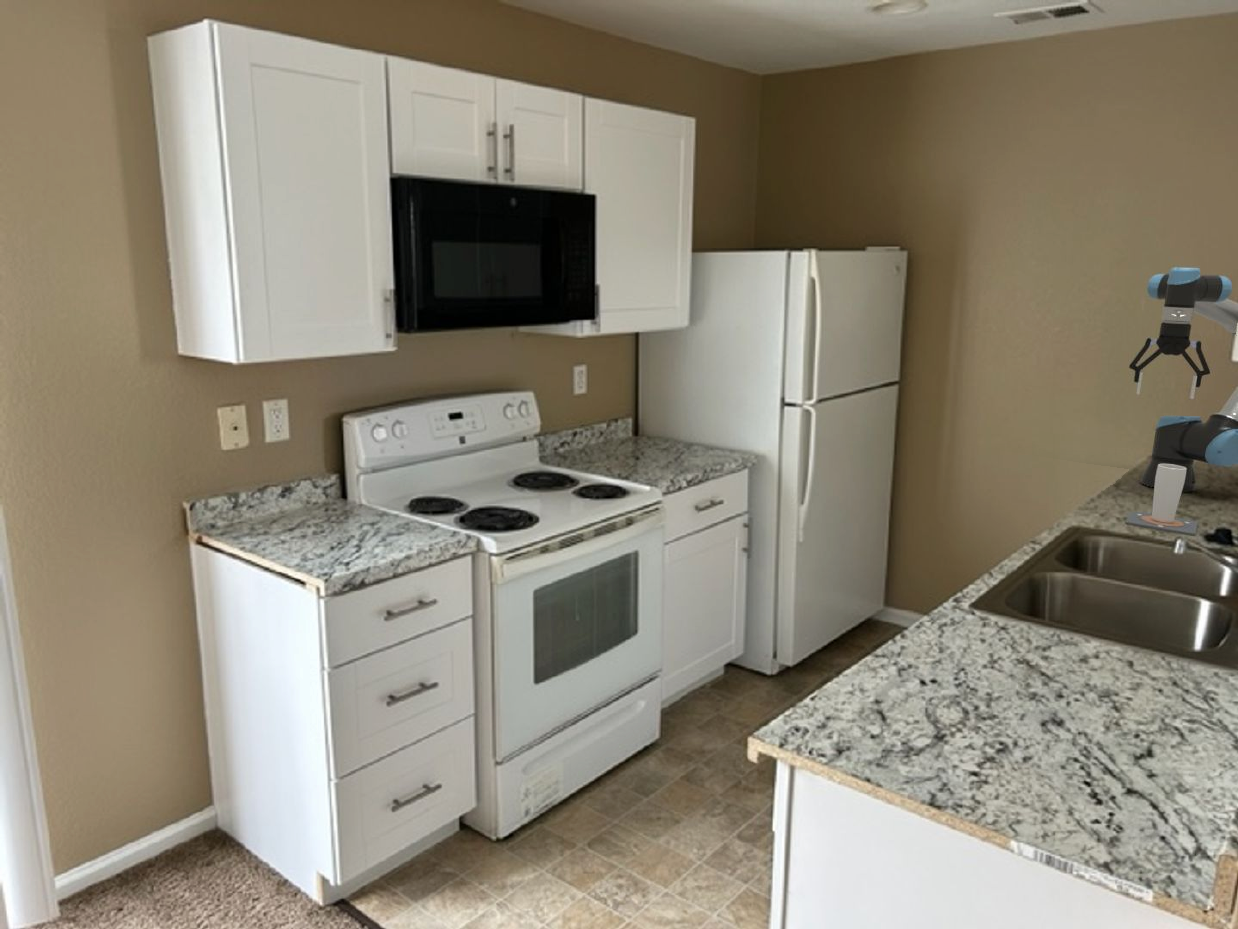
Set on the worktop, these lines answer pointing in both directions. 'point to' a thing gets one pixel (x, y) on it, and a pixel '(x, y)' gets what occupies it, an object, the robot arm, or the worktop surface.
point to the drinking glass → (1167, 491)
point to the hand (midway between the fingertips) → (1164, 396)
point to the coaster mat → (1176, 526)
